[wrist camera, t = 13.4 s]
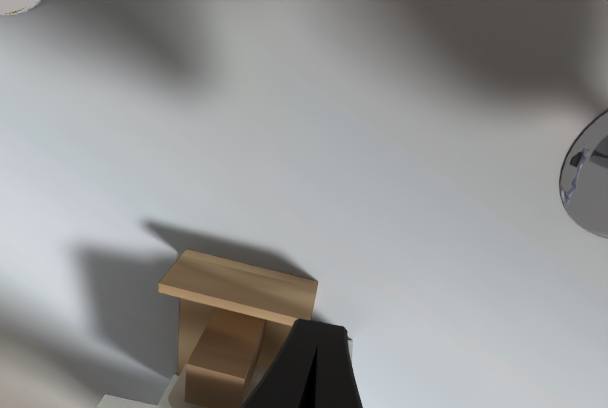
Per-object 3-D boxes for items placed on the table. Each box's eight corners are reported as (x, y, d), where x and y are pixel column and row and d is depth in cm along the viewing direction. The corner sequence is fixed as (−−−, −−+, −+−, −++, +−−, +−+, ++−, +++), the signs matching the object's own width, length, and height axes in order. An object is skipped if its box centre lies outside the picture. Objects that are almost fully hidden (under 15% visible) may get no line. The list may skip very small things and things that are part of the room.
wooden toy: (290, 392, 27) (272, 477, 22) (183, 364, 27) (142, 441, 22) (319, 277, 22) (304, 353, 17) (188, 245, 22) (136, 309, 18)
